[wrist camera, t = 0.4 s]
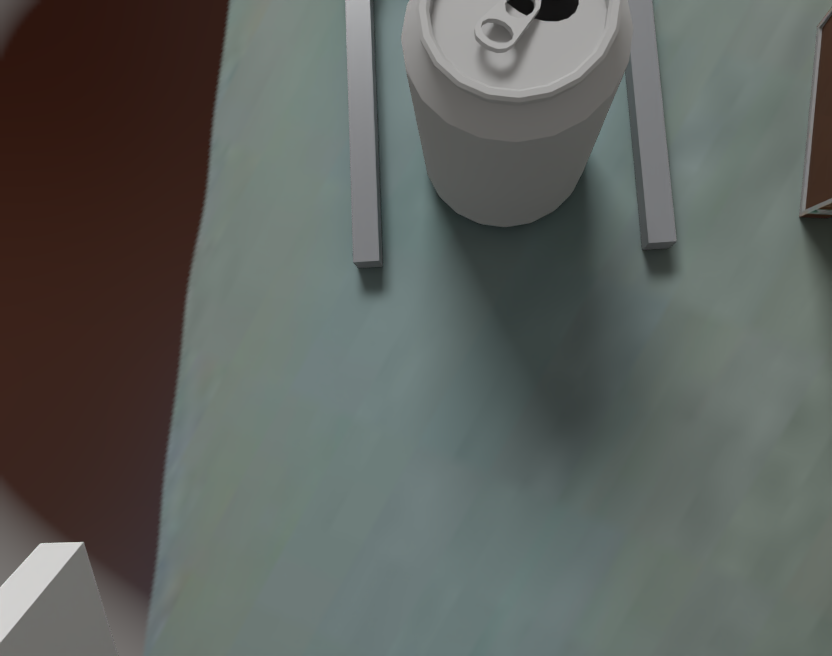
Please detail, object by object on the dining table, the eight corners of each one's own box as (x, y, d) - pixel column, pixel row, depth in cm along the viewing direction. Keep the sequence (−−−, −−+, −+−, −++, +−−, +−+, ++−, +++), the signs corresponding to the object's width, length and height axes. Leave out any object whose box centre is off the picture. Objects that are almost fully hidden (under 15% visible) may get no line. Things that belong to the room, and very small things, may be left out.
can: (615, 136, 32) (697, -35, 20) (522, 263, 31) (549, 166, 19) (485, 54, 33) (489, -154, 21) (394, 175, 32) (346, 33, 20)
